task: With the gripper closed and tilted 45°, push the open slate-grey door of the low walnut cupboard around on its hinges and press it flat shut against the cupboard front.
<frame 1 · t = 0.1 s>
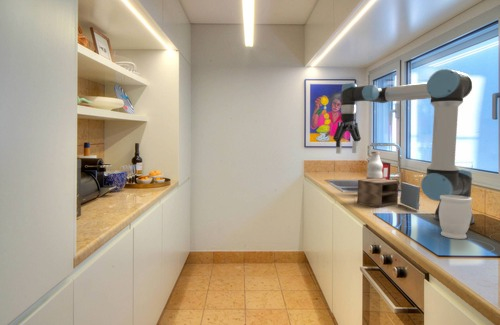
hand: (346, 153, 180), 28 cm above the countertop, tool pointing down, fingers open, 13 cm apart
jar: (453, 236, 126), on the countertop
fruit juice: (373, 196, 210), on the countertop
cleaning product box: (377, 191, 230), on the countertop
cabinet: (377, 203, 187), on the countertop
door: (410, 195, 177), point 7 cm above the countertop, hinge at 55.0°
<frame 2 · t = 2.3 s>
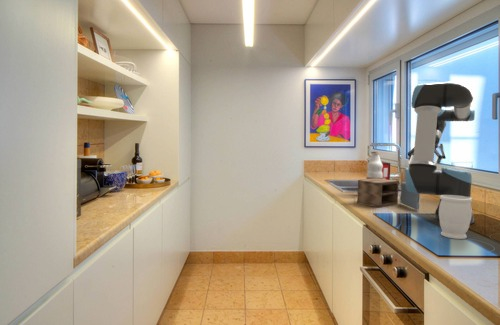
hand: (421, 166, 190), 21 cm above the countertop, tool tilted 45°, fingers open, 13 cm apart
nothing on the countertop moved.
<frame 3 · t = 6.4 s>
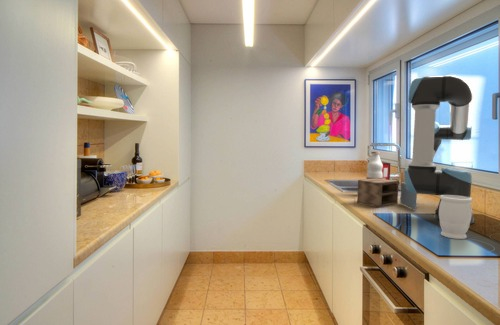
hand: (409, 189, 180), 9 cm above the countertop, tool tilted 45°, fingers closed
door: (409, 195, 177), point 7 cm above the countertop, hinge at 50.0°, touching gripper
everything else where it was.
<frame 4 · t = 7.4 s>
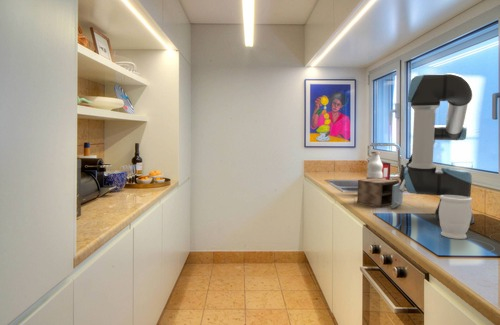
hand: (400, 190, 175), 9 cm above the countertop, tool tilted 45°, fingers closed
door: (399, 194, 178), point 7 cm above the countertop, hinge at 15.9°, touching gripper
everything else where it was.
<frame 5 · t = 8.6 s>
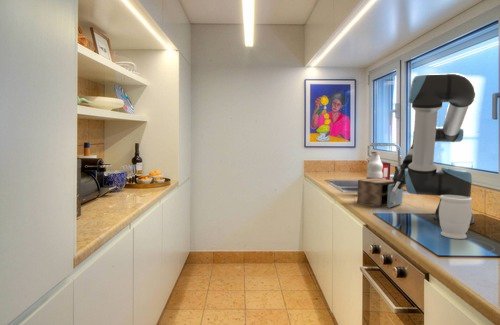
hand: (394, 193, 171), 9 cm above the countertop, tool tilted 45°, fingers closed
door: (397, 194, 178), point 7 cm above the countertop, hinge at 8.4°, touching gripper
everything else where it was.
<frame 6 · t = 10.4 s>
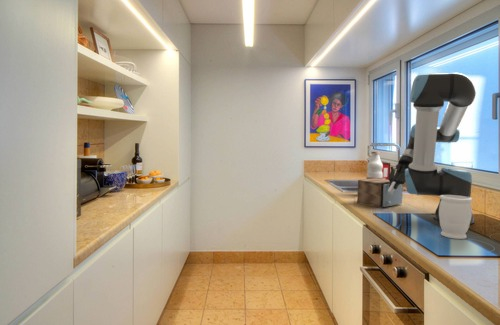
hand: (389, 192, 171), 9 cm above the countertop, tool tilted 45°, fingers closed
door: (394, 194, 179), point 7 cm above the countertop, hinge at 0.4°, touching gripper
everything else where it was.
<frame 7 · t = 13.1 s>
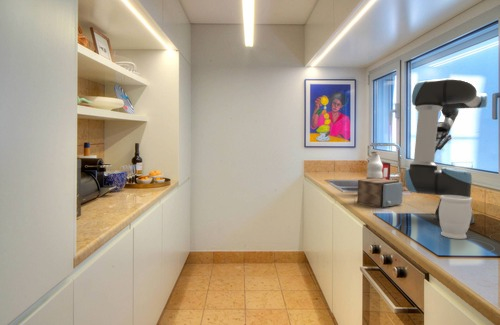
hand: (428, 157, 184), 26 cm above the countertop, tool tilted 45°, fingers closed
door: (394, 194, 179), point 7 cm above the countertop, hinge at 0.3°
everything else where it was.
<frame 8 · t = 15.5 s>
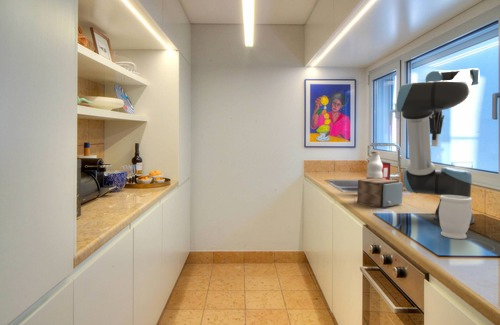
hand: (434, 146, 178), 32 cm above the countertop, tool pointing down, fingers closed
nothing on the countertop moved.
at the end: door at +0° (first picture: +55°) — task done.
